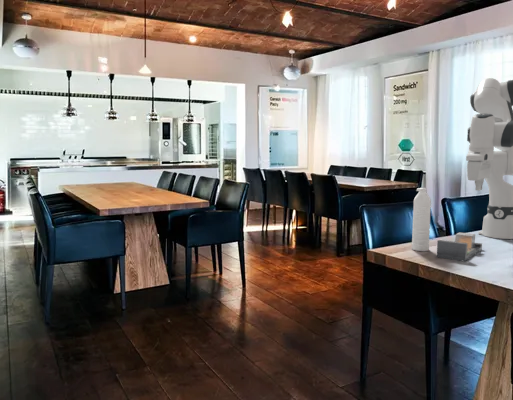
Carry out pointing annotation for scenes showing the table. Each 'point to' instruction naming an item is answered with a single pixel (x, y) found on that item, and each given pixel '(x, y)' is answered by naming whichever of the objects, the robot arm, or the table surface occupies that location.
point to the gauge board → (456, 250)
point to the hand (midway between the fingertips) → (478, 190)
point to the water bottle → (421, 221)
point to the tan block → (466, 239)
